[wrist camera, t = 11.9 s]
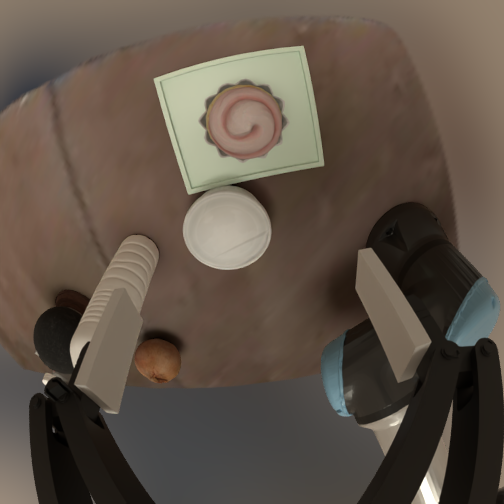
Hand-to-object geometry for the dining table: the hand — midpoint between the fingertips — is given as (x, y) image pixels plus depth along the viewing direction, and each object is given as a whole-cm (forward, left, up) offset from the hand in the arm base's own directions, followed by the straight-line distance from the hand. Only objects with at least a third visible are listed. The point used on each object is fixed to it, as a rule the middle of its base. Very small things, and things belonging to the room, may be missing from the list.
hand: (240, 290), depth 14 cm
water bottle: (+19, +9, -24) cm, 31 cm away
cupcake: (-2, -6, -23) cm, 24 cm away
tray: (-2, -6, -24) cm, 24 cm away
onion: (+24, +31, -24) cm, 45 cm away
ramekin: (+3, +7, -24) cm, 25 cm away
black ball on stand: (+39, +19, -24) cm, 49 cm away
